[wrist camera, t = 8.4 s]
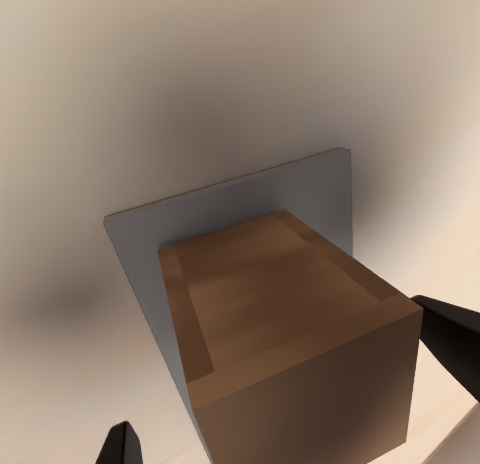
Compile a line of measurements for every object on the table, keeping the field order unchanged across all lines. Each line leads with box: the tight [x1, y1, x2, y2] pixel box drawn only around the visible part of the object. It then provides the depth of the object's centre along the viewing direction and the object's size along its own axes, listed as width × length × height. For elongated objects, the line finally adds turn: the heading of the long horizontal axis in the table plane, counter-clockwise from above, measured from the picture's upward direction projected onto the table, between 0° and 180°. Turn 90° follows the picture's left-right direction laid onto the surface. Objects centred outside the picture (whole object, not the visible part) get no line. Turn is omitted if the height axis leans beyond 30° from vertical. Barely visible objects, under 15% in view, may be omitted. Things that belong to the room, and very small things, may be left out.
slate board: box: [103, 147, 353, 464], centre depth 18 cm, size 10×26×1 cm, turn 11°
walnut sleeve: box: [158, 209, 424, 464], centre depth 10 cm, size 5×5×7 cm
